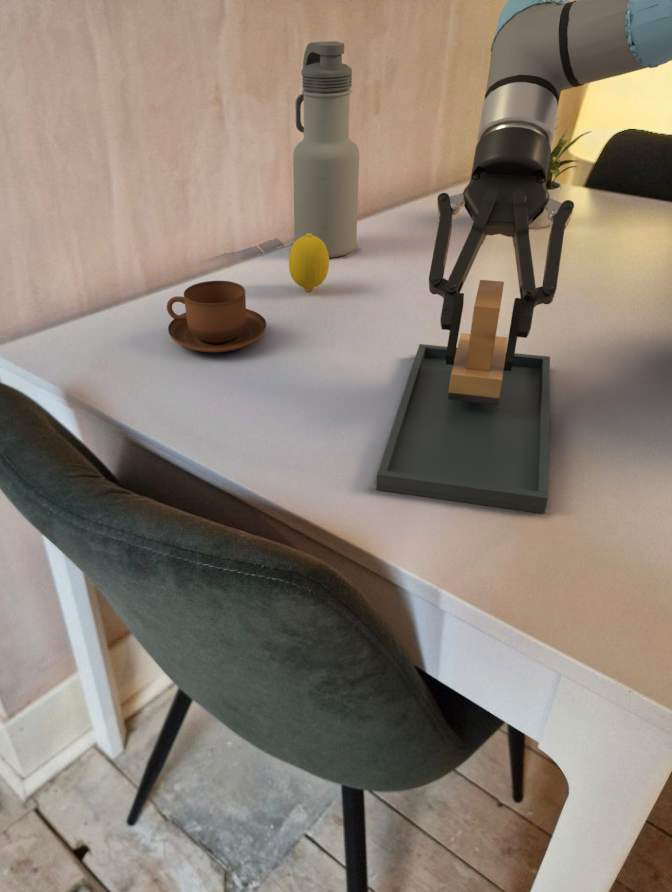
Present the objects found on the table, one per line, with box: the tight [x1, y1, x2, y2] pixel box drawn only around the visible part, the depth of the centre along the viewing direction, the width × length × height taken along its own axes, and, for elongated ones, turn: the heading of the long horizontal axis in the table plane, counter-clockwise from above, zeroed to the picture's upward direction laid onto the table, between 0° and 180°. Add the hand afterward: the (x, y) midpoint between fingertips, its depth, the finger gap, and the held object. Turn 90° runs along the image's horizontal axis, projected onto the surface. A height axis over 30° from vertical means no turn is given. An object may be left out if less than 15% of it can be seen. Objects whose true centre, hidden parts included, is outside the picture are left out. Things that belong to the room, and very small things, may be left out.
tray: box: [375, 343, 551, 514], centre depth 77 cm, size 28×15×2 cm, turn 164°
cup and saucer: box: [166, 280, 267, 353], centre depth 93 cm, size 12×12×6 cm
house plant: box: [529, 118, 593, 229], centre depth 124 cm, size 14×14×16 cm
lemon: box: [288, 233, 330, 292], centre depth 104 cm, size 6×6×8 cm
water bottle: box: [292, 40, 360, 259], centre depth 112 cm, size 10×10×28 cm
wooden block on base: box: [448, 279, 509, 405], centre depth 78 cm, size 10×5×10 cm, turn 164°
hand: (478, 362), depth 75 cm, fingers closed on wooden block on base, 5 cm apart
